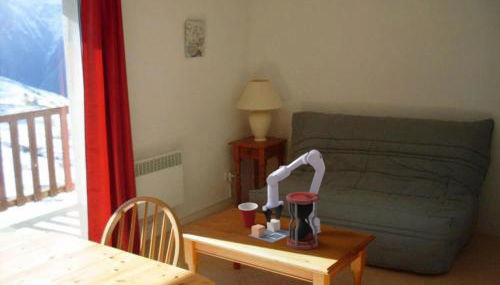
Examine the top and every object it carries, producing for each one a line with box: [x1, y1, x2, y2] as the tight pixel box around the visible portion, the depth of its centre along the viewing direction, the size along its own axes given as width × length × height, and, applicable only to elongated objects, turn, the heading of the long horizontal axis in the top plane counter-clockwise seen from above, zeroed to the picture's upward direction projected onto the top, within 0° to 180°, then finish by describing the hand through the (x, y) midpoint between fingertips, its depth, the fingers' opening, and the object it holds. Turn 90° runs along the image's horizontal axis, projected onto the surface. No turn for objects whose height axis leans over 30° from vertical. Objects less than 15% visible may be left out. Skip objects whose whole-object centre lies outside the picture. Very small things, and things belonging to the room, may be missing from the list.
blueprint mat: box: [247, 227, 292, 243], centre depth 295 cm, size 17×19×1 cm
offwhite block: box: [266, 218, 281, 232], centre depth 302 cm, size 5×5×5 cm
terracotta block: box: [251, 224, 266, 239], centre depth 293 cm, size 5×5×5 cm
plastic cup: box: [238, 202, 259, 228], centre depth 309 cm, size 11×11×12 cm
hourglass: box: [285, 191, 320, 250], centre depth 279 cm, size 16×16×25 cm
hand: (273, 220), depth 301 cm, fingers open, 7 cm apart
